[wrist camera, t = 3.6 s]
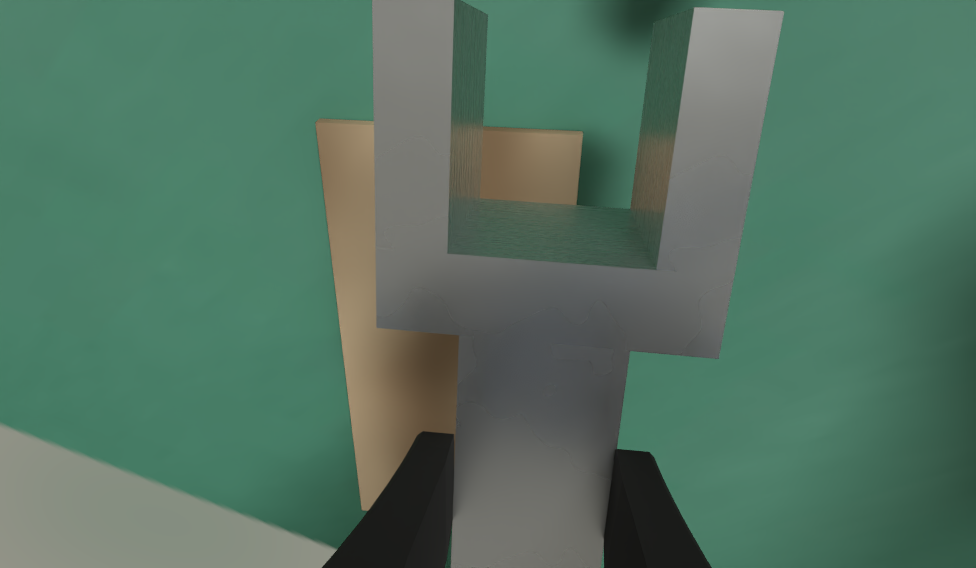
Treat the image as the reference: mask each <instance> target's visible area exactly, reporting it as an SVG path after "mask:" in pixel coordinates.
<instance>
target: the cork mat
mask: <svg viewBox="0 0 976 568" xmlns="http://www.w3.org/2000/svg"><path fill="white" fill-rule="evenodd" d="M315 123H316V131H317V140H318V148H319V156H320V165H321V173H322V181H323V190H324V198H325V207H326V215H327V223H328V232H329V240H330V248H331V257H332V265H333V273H334V282H335V290H336V298H337V307H338V315H339V323H340V332H341V340H342V349H343V357H344V365H345V374H346V382H347V390H348V399H349V407H350V415H351V424H352V432H353V440H354V449H355V457H356V465H357V474H358V482H359V491H360V499H361V507H362V510H365V511H368V510H369V509H370V508H371V506H372V505H373V504H374V502H375V501H376V499H377V498H378V497H379V495H380V494H381V492H382V491H383V490H384V488H385V487H386V485H387V484H388V482H389V481H390V479H391V478H392V476H393V475H394V473H395V472H396V470H397V469H398V467H399V466H400V464H401V463H402V461H403V459H404V458H405V456H406V454H407V453H408V451H409V449H410V448H411V446H412V444H413V442H414V440H415V438H416V437H417V435H418V434H420V433H421V432H422V431H427V432H437V433H448V434H454V464H455V435H456V407H457V378H458V350H459V335H449V334H438V333H427V332H416V331H405V330H394V329H383V328H376V250H375V171H374V121H358V120H337V119H319V120H318V121H316V122H315ZM582 139H583V131H565V130H544V129H523V128H503V127H483V140H482V162H481V185H480V198H482V199H496V200H510V201H524V202H538V203H552V204H566V205H576V203H577V193H578V182H579V171H580V160H581V149H582Z"/></svg>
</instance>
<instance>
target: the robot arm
mask: <svg viewBox="0 0 976 568" xmlns="http://www.w3.org/2000/svg"><path fill="white" fill-rule="evenodd" d="M453 492H454V434H448V433H437V432H427V431H422V432H421V433H420V434H418V435H417V437H416V438H415V440H414V442H413V444H412V446H411V448H410V449H409V451H408V453H407V454H406V456H405V458H404V459H403V461H402V463H401V464H400V466H399V467H398V469H397V470H396V472H395V473H394V475H393V476H392V478H391V479H390V481H389V482H388V484H387V485H386V487H385V488H384V490H383V491H382V492H381V494H380V495H379V497H378V498H377V499H376V501H375V502H374V504H373V505H372V506H371V508H370V509H369V510H368V512H367V513H366V515H365V516H364V517H363V519H362V520H361V521H360V522H359V524H358V525H357V526H356V527H355V529H354V530H353V531H352V532H351V534H350V535H349V536H348V537H347V538H346V540H345V541H344V542H343V543H342V545H341V546H340V547H339V548H338V550H337V551H336V552H335V553H334V554H333V556H332V557H331V558H330V559H329V560H328V561H327V562H326V564H325V565H324V566H323V567H322V568H445V564H446V559H447V553H448V546H449V540H450V533H451V526H452V520H453ZM604 568H712V567H711V566H710V564H709V563H708V561H707V559H706V558H705V556H704V554H703V552H702V551H701V549H700V547H699V545H698V544H697V542H696V540H695V539H694V537H693V535H692V533H691V532H690V530H689V528H688V526H687V524H686V523H685V521H684V519H683V517H682V515H681V513H680V511H679V509H678V507H677V506H676V504H675V502H674V500H673V498H672V496H671V494H670V492H669V490H668V488H667V486H666V483H665V481H664V479H663V477H662V475H661V473H660V470H659V468H658V466H657V463H656V461H655V459H654V457H653V456H652V455H651V454H650V452H643V451H632V450H622V449H616V453H615V459H614V465H613V471H612V479H611V487H610V494H609V502H608V510H607V517H606V525H605V533H604Z"/></svg>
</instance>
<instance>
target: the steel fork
mask: <svg viewBox="0 0 976 568" xmlns="http://www.w3.org/2000/svg"><path fill="white" fill-rule="evenodd" d="M372 13H373V92H374V171H375V250H376V328H383V329H394V330H405V331H416V332H427V333H438V334H449V335H459V350H458V378H457V407H456V435H455V464H454V492H453V521H452V549H451V568H601V561H602V553H603V546H604V533H605V525H606V517H607V510H608V502H609V494H610V487H611V479H612V471H613V465H614V459H615V453H616V449H617V443H618V435H619V428H620V421H621V413H622V406H623V399H624V391H625V384H626V377H627V369H628V362H629V354H630V351H637V352H648V353H659V354H670V355H681V356H692V357H703V358H715V359H719V354H720V349H721V343H722V338H723V333H724V327H725V322H726V317H727V311H728V306H729V301H730V296H731V290H732V285H733V280H734V274H735V269H736V264H737V258H738V253H739V248H740V242H741V237H742V232H743V227H744V221H745V216H746V211H747V205H748V200H749V195H750V189H751V184H752V179H753V173H754V168H755V163H756V158H757V152H758V147H759V142H760V136H761V131H762V126H763V120H764V115H765V110H766V105H767V99H768V94H769V89H770V83H771V78H772V73H773V67H774V62H775V57H776V51H777V46H778V41H779V36H780V30H781V25H782V20H783V14H784V11H769V10H745V9H722V8H699V7H694V8H691V9H688V10H686V11H683V12H680V13H677V14H675V15H672V16H669V17H667V18H664V19H661V20H658V21H656V22H654V24H653V32H652V40H651V48H650V56H649V64H648V72H647V80H646V88H645V96H644V104H643V112H642V120H641V128H640V136H639V144H638V152H637V160H636V168H635V176H634V184H633V192H632V200H631V208H630V209H623V208H609V207H595V206H581V205H566V204H552V203H538V202H524V201H510V200H496V199H482V198H480V185H481V162H482V140H483V117H484V94H485V71H486V48H487V26H488V14H486V13H484V12H482V11H480V10H478V9H476V8H474V7H472V6H471V5H469V4H467V3H465V2H463V1H461V0H372Z"/></svg>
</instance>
